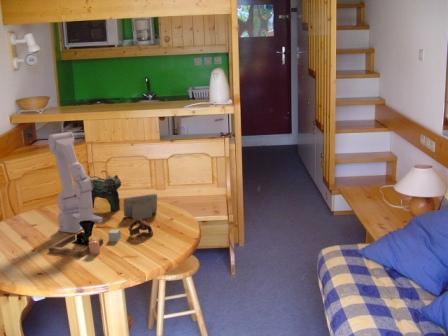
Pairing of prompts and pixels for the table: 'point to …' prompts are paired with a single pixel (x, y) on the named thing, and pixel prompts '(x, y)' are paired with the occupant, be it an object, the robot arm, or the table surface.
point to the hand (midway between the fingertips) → (88, 236)
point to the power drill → (107, 190)
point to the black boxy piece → (82, 239)
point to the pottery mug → (140, 227)
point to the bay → (57, 249)
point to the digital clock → (140, 206)
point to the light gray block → (114, 235)
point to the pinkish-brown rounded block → (94, 247)
